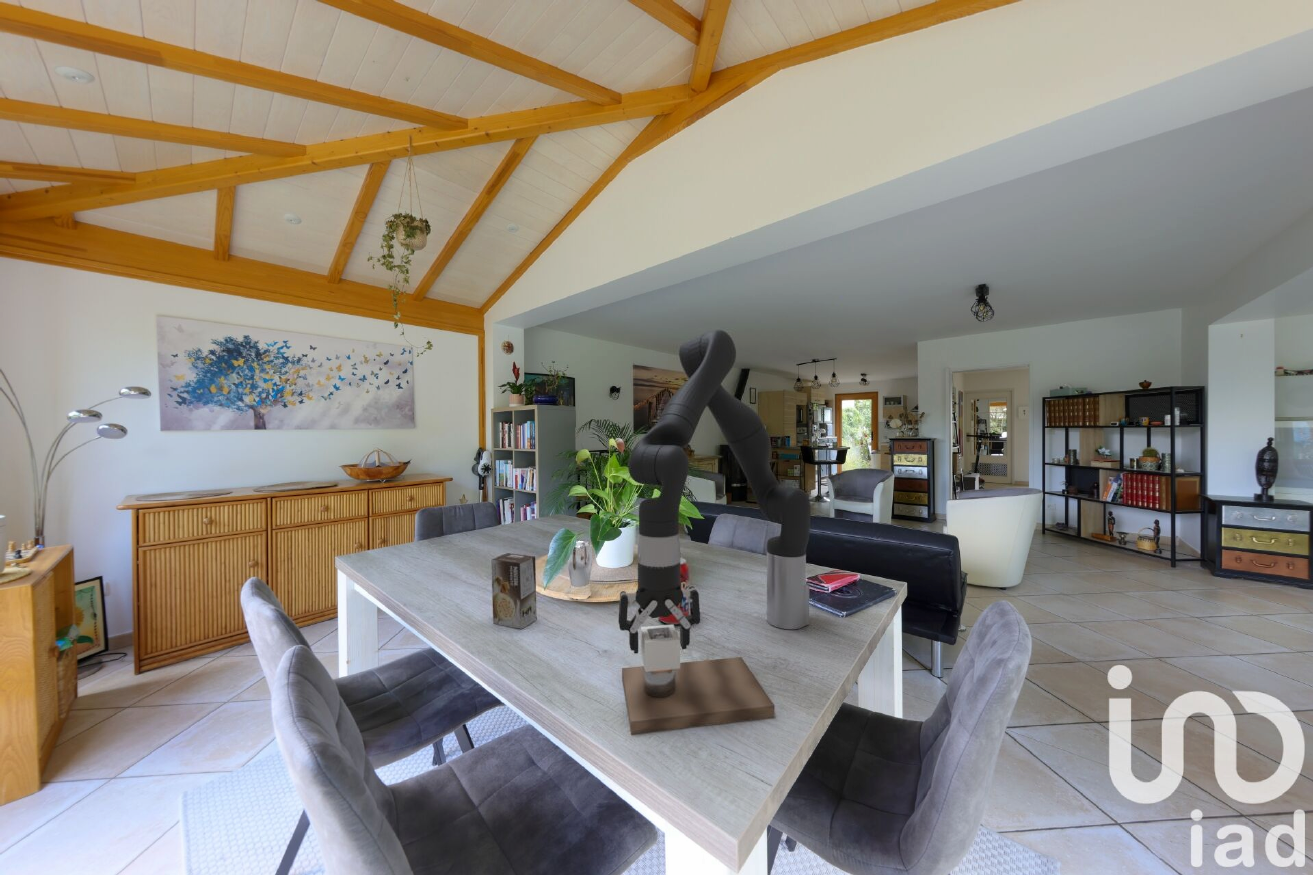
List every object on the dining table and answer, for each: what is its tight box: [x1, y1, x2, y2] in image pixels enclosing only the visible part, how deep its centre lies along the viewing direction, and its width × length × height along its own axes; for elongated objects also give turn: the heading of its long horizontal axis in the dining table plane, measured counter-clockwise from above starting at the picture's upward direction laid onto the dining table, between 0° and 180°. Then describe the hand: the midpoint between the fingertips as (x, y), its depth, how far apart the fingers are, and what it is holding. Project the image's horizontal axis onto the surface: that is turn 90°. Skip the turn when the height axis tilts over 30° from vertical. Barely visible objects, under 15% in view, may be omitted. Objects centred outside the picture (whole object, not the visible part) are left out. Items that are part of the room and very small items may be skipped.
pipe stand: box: [621, 630, 776, 735], centre depth 82 cm, size 24×16×12 cm, turn 99°
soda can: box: [657, 557, 690, 626], centre depth 114 cm, size 8×8×15 cm
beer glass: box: [567, 540, 593, 587], centre depth 130 cm, size 7×7×15 cm
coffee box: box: [490, 552, 538, 630], centre depth 113 cm, size 9×6×16 cm
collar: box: [640, 624, 681, 672], centre depth 81 cm, size 6×6×5 cm
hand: (659, 649), depth 81 cm, fingers open, 8 cm apart
